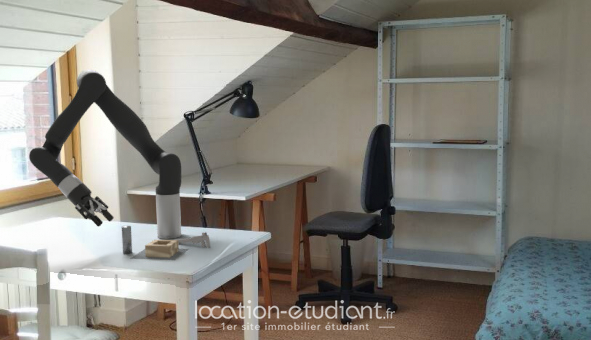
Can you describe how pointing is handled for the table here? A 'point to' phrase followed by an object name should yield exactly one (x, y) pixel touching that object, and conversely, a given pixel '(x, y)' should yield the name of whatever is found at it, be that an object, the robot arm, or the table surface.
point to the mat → (143, 256)
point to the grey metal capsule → (126, 239)
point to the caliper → (197, 240)
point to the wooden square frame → (161, 248)
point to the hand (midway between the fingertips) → (106, 222)
